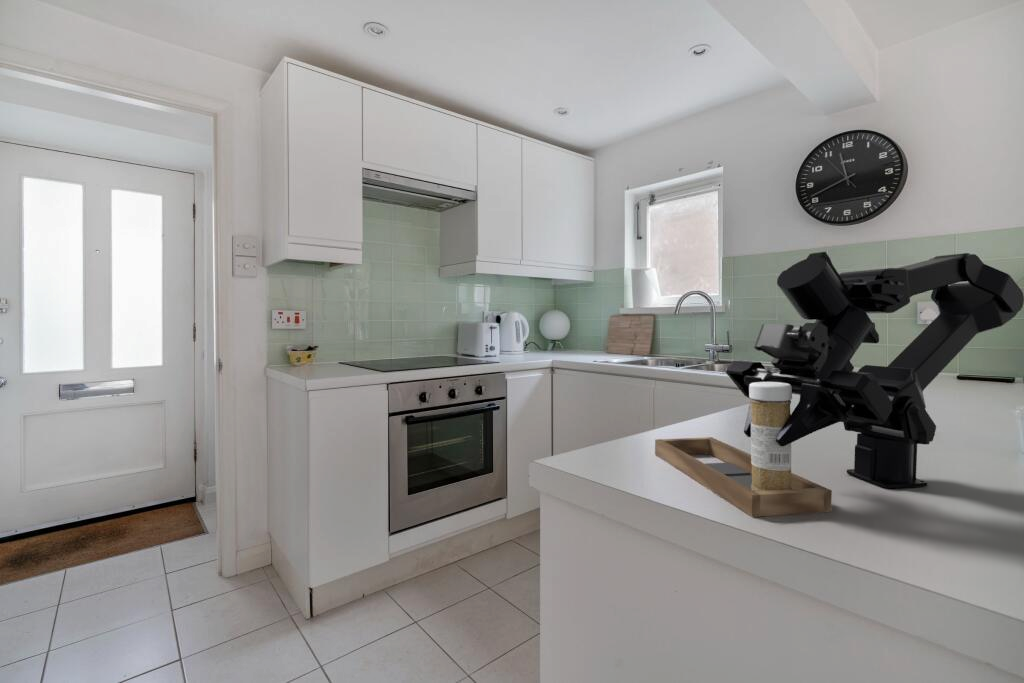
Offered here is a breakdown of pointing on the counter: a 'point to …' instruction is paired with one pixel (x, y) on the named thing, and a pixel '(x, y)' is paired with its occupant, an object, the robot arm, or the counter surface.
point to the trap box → (751, 502)
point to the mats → (733, 472)
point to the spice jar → (769, 436)
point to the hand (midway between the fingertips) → (762, 439)
